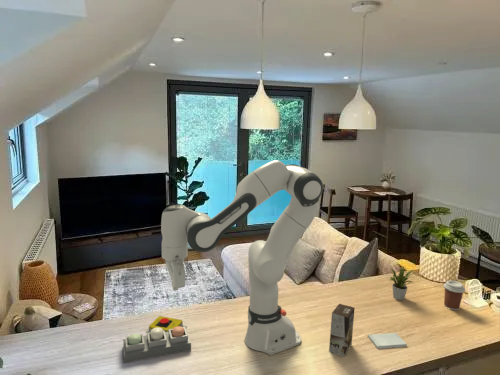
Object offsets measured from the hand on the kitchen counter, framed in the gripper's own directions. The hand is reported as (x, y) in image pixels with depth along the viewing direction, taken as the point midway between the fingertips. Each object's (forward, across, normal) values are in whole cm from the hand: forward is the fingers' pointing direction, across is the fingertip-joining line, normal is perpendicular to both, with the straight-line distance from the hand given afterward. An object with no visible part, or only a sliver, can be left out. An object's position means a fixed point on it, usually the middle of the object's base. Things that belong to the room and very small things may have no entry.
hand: (175, 288), depth 129 cm
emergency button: (+28, +20, +1) cm, 34 cm away
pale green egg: (+24, +8, +14) cm, 29 cm away
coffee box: (+27, -14, -61) cm, 68 cm away
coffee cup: (+27, -3, -131) cm, 134 cm away
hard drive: (+28, -16, -81) cm, 88 cm away
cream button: (+23, +8, +6) cm, 25 cm away
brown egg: (+24, +8, -2) cm, 25 cm away
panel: (+27, +8, +6) cm, 29 cm away
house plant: (+27, +11, -113) cm, 117 cm away
